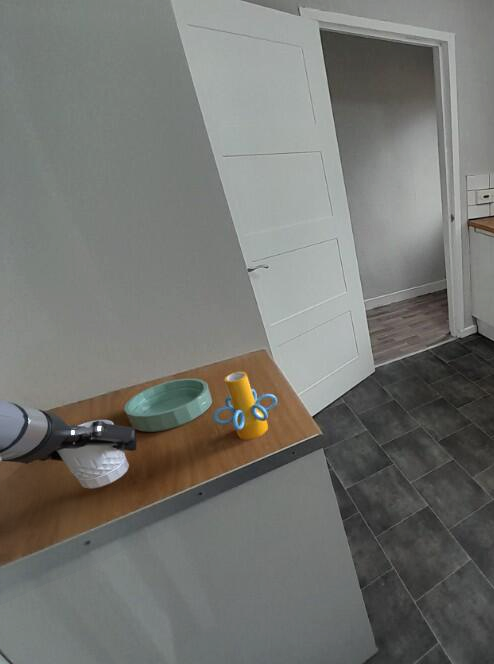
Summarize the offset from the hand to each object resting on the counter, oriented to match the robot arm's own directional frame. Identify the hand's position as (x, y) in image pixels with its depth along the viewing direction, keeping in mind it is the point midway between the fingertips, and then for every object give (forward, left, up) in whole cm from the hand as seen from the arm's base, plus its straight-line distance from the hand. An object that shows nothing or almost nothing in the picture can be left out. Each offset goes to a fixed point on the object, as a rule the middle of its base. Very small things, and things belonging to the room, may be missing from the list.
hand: (106, 448), depth 79 cm
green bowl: (+2, +20, -6) cm, 21 cm away
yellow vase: (+22, +7, -6) cm, 24 cm away
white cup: (0, -3, -4) cm, 5 cm away
